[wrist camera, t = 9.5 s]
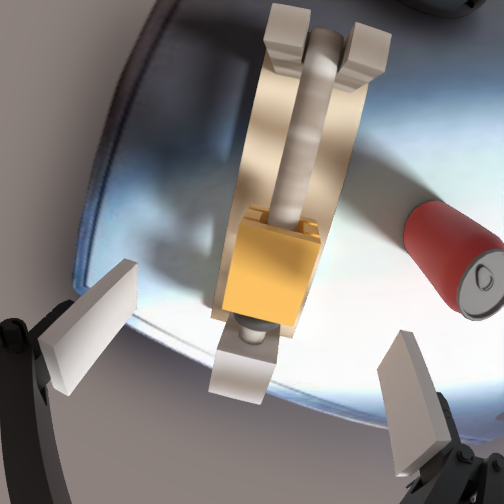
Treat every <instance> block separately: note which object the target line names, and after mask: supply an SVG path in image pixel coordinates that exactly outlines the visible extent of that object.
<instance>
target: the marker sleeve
mask: <svg viewBox="0 0 504 504" xmlns="http://www.w3.org/2000/svg"><path fill="white" fill-rule="evenodd" d="M268 212H269V208H268V207H264V206H260V205H255V204H251V205H250V206H249V209H248V210H247V211H246V213H245V215H244V217H243V218H242V220H241V221H240V223H239V227H238V232H237V237H236V242H235V247H234V251H233V256H232V261H231V266H230V271H229V276H228V281H227V286H226V291H225V296H224V301H223V306H222V309H223V310H227V311H231V312H235V313H238V314H242V315H246V316H250V317H254V318H258V319H262V320H266V321H270V322H274V323H278V324H282V325H286V326H291V327H293V326H294V323H295V320H296V317H297V315H298V312H299V309H300V306H301V303H302V300H303V298H304V295H305V292H306V289H307V286H308V283H309V280H310V277H311V274H312V271H313V268H314V265H315V262H316V259H317V256H318V253H319V250H320V246H321V240H320V238H319V236H320V235H319V230H318V226H317V221H316V220H314V219H310V218H307V217H303V216H300V219H299V222H298V226H297V230H296V232H295V231H291V230H287V229H283V228H279V227H275V226H271V225H267V224H266V221H267V216H268Z"/></svg>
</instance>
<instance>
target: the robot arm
mask: <svg viewBox="0 0 504 504" xmlns="http://www.w3.org/2000/svg"><path fill="white" fill-rule="evenodd" d="M399 1H400V2H402V3H404V4H406V5H408V6H410V7H412V8H414V9H416V10H419V11H421V12H424V13H427V14H430V15H434V16H438V17H444V18H458V17H463V16H466V15H468V14H470V13H471V12H473V11H475V10H477V9H478V8H480V7H481V6H482V5H483V4H484V3H485V1H486V0H399ZM137 275H138V263H137V262H134V261H131V260H127V259H124V260H122V261H121V262H120V263H119V264H118V265H116V266H115V267H114V268H113V269H112V270H111V271H110V272H108V273H107V274H106V275H105V276H104V277H103V278H102V279H100V280H99V281H98V282H97V283H96V284H95V285H94V286H93V287H91V288H90V289H89V290H88V291H87V292H86V293H85V294H84V295H83V296H82V297H80V298H79V300H77V301H76V302H74V301H72V300H67V301H64V302H62V303H60V304H58V305H57V306H56V307H55V308H54V309H53V310H52V312H50V313H48V314H47V315H46V317H44V318H43V319H42V320H41V321H40V322H39V323H38V324H37V325H35V326H34V327H33V328H32V329H31V330H30V331H29V332H28V330H27V326H26V324H25V323H24V321H23V320H21V319H18V318H10V319H6V320H4V321H3V322H1V323H0V427H1V428H0V429H1V442H2V453H3V461H4V468H5V475H6V481H7V487H8V492H9V497H10V502H11V504H72V503H71V500H70V496H69V493H68V489H67V486H66V483H65V479H64V475H63V471H62V468H61V463H60V459H59V455H58V450H57V446H56V441H55V436H54V431H53V424H52V418H51V412H50V405H49V398H48V389H47V386H46V384H47V383H48V382H49V381H50V379H51V381H52V384H53V387H54V388H55V389H57V390H58V391H60V392H62V393H63V394H65V395H67V396H69V395H70V394H71V393H72V391H73V390H74V388H75V387H76V386H77V384H78V383H79V382H80V380H81V379H82V378H83V376H84V375H85V374H86V372H87V371H88V370H89V369H90V367H91V366H92V364H93V363H94V362H95V361H96V359H97V358H98V357H99V355H100V354H101V353H102V352H103V350H104V349H105V348H106V346H107V345H108V344H109V343H110V341H111V340H112V339H113V338H114V336H115V335H116V334H117V333H118V331H119V330H120V329H121V327H122V326H123V325H124V324H125V323H126V321H127V320H128V319H129V318H130V316H131V315H132V314H133V313H134V311H135V310H136V309H137ZM377 372H378V376H379V381H380V385H381V390H382V395H383V400H384V405H385V411H386V416H387V422H388V427H389V433H390V439H391V446H392V451H393V459H394V466H395V474H396V476H411V475H412V474H414V473H415V472H416V471H417V470H419V469H420V476H419V477H418V478H416V479H415V480H414V481H412V482H411V483H410V484H408V485H407V487H406V488H409V487H410V486H411V485H412V486H411V488H410V489H409V491H408V492H407V494H406V495H405V497H404V498H403V500H402V501H401V502H400V504H504V457H503V456H502V455H501V454H499V453H493V454H491V455H490V456H489V457H488V458H486V459H483V458H479V457H475V455H474V452H473V451H472V449H471V448H470V447H469V446H467V445H465V444H461V441H460V438H459V435H458V432H457V429H456V426H455V423H454V420H453V419H452V414H451V411H450V408H449V405H448V402H447V400H446V399H445V398H444V396H443V395H442V394H441V392H436V391H435V388H434V385H433V382H432V380H431V377H430V374H429V372H428V369H427V366H426V364H425V361H424V359H423V356H422V354H421V351H420V349H419V346H418V344H417V342H416V339H415V337H414V335H413V332H408V331H403V330H400V331H399V333H398V335H397V336H396V338H395V340H394V342H393V344H392V345H391V347H390V349H389V350H388V352H387V354H386V355H385V357H384V359H383V360H382V362H381V364H380V365H379V367H378V369H377ZM475 496H476V501H475V502H474V498H475Z"/></svg>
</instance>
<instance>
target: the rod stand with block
mask: <svg viewBox="0 0 504 504" xmlns="http://www.w3.org/2000/svg"><path fill="white" fill-rule="evenodd" d="M310 12H311V10H308V9H303V8H298V7H293V6H287V5H282V4H276V3H273V4H272V8H271V12H270V16H269V20H268V24H267V27H266V31H265V35H264V39H263V40H264V43H265V46H266V48H267V49H266V53H265V57H264V61H263V65H262V70H261V74H260V78H259V82H258V87H257V91H256V95H255V100H254V104H253V108H252V113H251V117H250V122H249V126H248V131H247V135H246V140H245V145H244V149H243V154H242V159H241V163H240V168H239V173H238V178H237V182H236V187H235V192H234V197H233V202H232V207H231V212H230V217H229V222H228V227H227V232H226V237H225V243H224V248H223V253H222V258H221V264H220V269H219V274H218V280H217V285H216V291H215V296H214V302H213V307H212V313H211V318H213V319H217V320H221V321H224V322H226V325H225V328H224V330H223V333H222V336H221V339H220V341H219V344H218V347H217V350H216V355H215V360H214V365H213V370H212V375H211V380H210V386H209V392H212V393H216V394H219V395H223V396H227V397H230V398H235V399H238V400H243V401H247V402H251V403H255V404H261V402H262V399H263V397H264V395H265V392H266V390H267V387H268V385H269V382H270V379H271V377H272V374H273V372H274V369H275V367H276V363H277V354H278V345H279V336H284V337H288V338H292V337H293V335H294V332H295V329H296V327H297V324H298V321H299V318H300V316H301V313H302V310H303V307H304V305H305V302H306V299H307V296H308V293H309V290H310V288H311V285H312V282H313V279H314V276H315V273H316V270H317V267H318V264H319V261H320V258H321V255H322V252H323V249H324V246H325V243H326V239H327V236H328V233H329V230H330V227H331V223H332V220H333V217H334V214H335V210H336V207H337V204H338V200H339V197H340V193H341V190H342V186H343V183H344V179H345V176H346V172H347V169H348V165H349V161H350V158H351V154H352V150H353V146H354V142H355V139H356V135H357V131H358V127H359V123H360V119H361V114H362V110H363V106H364V102H365V97H366V93H367V88H368V84H369V81H371V80H373V79H374V78H376V77H377V76H379V75H381V74H382V73H384V72H385V68H386V63H387V58H388V52H389V47H390V41H391V36H392V34H389V33H387V32H384V31H381V30H378V29H375V28H373V27H370V26H367V25H364V24H360V23H357V22H356V23H355V24H354V26H353V28H352V30H351V31H350V33H349V35H348V37H347V39H346V40H345V41H343V39H344V37H343V36H342V35H341V34H339V33H337V32H335V31H332V30H328V29H323V28H314V29H312V30H311V32H308V30H309V21H310ZM251 204H255V205H260V206H264V207H268V208H269V212H268V216H267V221H266V224H267V225H271V226H275V227H279V228H283V229H287V230H291V231H295V232H296V230H297V226H298V222H299V219H300V216H303V217H307V218H310V219H314V220H316V221H317V226H318V230H319V235H320V236H319V238H320V240H321V246H320V250H319V253H318V256H317V259H316V262H315V265H314V268H313V271H312V274H311V277H310V280H309V283H308V286H307V289H306V292H305V295H304V298H303V300H302V303H301V306H300V309H299V312H298V315H297V317H296V320H295V323H294V326H293V327H291V326H286V325H282V324H278V323H274V322H270V321H266V320H262V319H258V318H254V317H250V316H246V315H242V314H238V313H235V312H231V311H227V310H223V309H222V306H223V301H224V296H225V291H226V286H227V281H228V276H229V271H230V266H231V261H232V256H233V251H234V247H235V242H236V237H237V232H238V227H239V223H240V221H241V220H242V218H243V217H244V215H245V213H246V211H247V210H248V209H249V206H250V205H251Z"/></svg>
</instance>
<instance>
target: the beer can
mask: <svg viewBox="0 0 504 504" xmlns="http://www.w3.org/2000/svg"><path fill="white" fill-rule="evenodd" d="M403 237H404V245H405V247H406V250H407V252H408V254H409V255H410V256H411V257H412V259H413V260H414V261H415V263H416V264H417V265H418V266H419V268H420V269H421V270H422V272H423V273H424V274H425V276H426V277H427V278H428V280H429V281H430V282H431V284H432V285H433V286H434V288H435V289H436V291H437V292H438V293H439V295H440V296H441V298H442V299H443V300H444V302H445V303H446V304H447V305H448V306H449V307H450V308H451V309H453V310H454V311H456V312H459V313H461V314H462V315H463V316H464V317H465V318H467V319H469V320H472V321H481V320H484V319H487V318H489V317H491V316H492V315H494V314H495V313H497V312H498V311H499V310H500V309H501V308H502V307H503V306H504V243H503V242H502V241H501V239H500V238H499V237H498V236H496V235H495V234H493V233H492V232H490V231H489V230H487V229H486V228H484V227H483V226H481V225H480V224H478V223H477V222H475V221H474V220H472V219H470V218H469V217H467V216H466V215H464V214H462V213H461V212H459V211H458V210H456V209H454V208H453V207H451V206H449V205H448V204H446V203H444V202H442V201H435V200H433V201H428V202H425V203H423V204H421V205H420V206H418V207H416V208H415V210H414V211H413V212H412V213H411V214H410V215H409V217H408V219H407V222H406V224H405V228H404V234H403Z"/></svg>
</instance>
